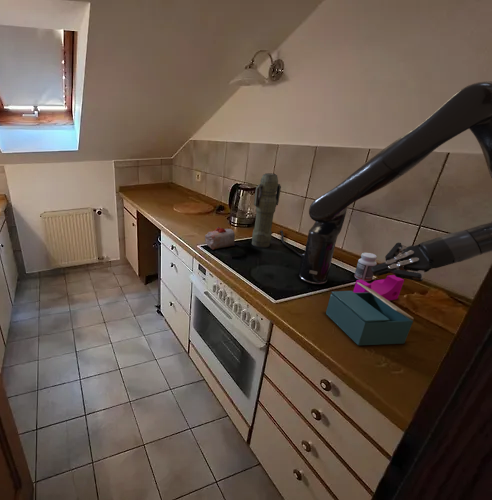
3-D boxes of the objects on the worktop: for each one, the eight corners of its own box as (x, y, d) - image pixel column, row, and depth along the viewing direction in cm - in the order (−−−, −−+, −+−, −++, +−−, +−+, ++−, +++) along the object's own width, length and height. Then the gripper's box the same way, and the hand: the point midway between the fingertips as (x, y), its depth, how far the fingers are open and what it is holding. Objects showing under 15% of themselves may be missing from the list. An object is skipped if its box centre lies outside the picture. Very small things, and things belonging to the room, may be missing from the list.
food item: (211, 251, 145) (213, 232, 141) (203, 245, 151) (204, 227, 148) (235, 247, 149) (237, 228, 145) (226, 241, 155) (227, 223, 152)
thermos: (245, 242, 153) (253, 173, 140) (264, 239, 156) (274, 171, 143) (255, 249, 146) (265, 176, 132) (276, 245, 148) (287, 174, 135)
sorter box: (325, 313, 96) (331, 291, 93) (365, 312, 96) (372, 289, 93) (358, 345, 82) (366, 320, 79) (404, 343, 82) (414, 318, 79)
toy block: (380, 290, 108) (386, 271, 105) (397, 299, 102) (404, 279, 99) (345, 295, 105) (350, 276, 102) (360, 305, 100) (366, 285, 97)
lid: (356, 282, 92) (357, 281, 91) (371, 290, 93) (372, 289, 93) (396, 310, 78) (397, 309, 78) (413, 319, 79) (414, 318, 79)
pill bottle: (371, 276, 117) (378, 253, 113) (372, 283, 113) (379, 259, 109) (353, 273, 120) (359, 251, 116) (354, 279, 115) (360, 256, 111)
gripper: (432, 223, 81) (360, 248, 90) (462, 261, 72) (378, 284, 82) (436, 238, 85) (366, 261, 94) (465, 276, 76) (385, 296, 86)
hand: (372, 272), depth 88 cm, fingers closed
